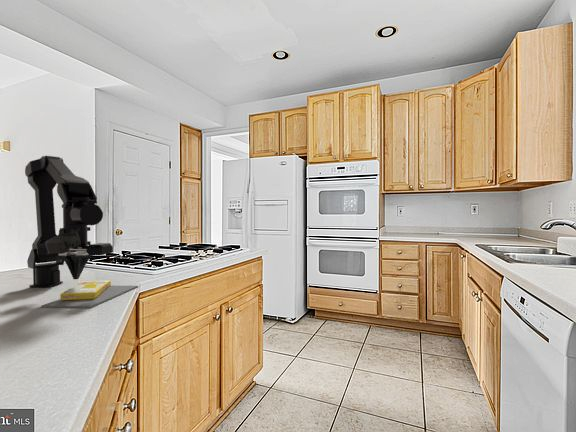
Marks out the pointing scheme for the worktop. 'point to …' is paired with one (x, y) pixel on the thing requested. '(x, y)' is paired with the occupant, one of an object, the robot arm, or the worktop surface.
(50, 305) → the mat
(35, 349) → the worktop surface
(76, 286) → the candy box
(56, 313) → the worktop surface
